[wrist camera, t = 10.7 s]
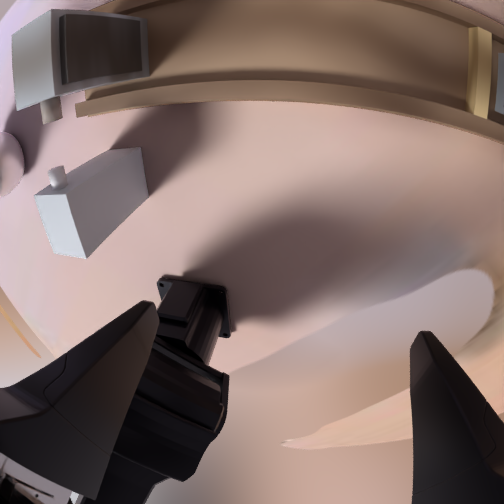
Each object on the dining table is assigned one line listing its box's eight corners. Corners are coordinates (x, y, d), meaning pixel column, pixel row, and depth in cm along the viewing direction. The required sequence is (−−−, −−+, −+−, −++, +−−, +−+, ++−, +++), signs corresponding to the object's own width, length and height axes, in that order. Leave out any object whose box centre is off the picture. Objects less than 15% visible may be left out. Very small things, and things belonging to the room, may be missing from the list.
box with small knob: (139, 132, 18) (60, 174, 12) (148, 197, 21) (86, 258, 15) (102, 136, 19) (25, 178, 12) (114, 196, 22) (50, 252, 15)
